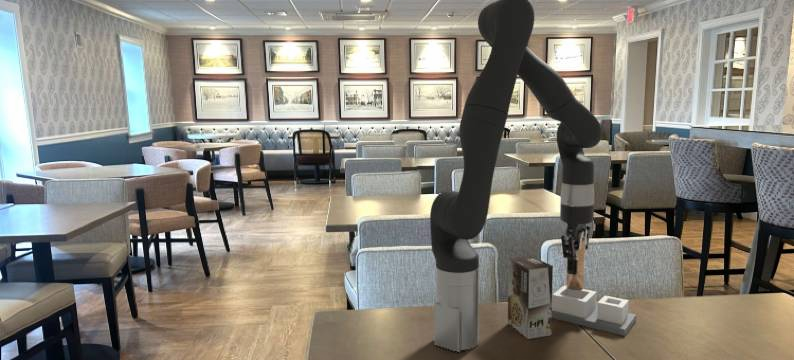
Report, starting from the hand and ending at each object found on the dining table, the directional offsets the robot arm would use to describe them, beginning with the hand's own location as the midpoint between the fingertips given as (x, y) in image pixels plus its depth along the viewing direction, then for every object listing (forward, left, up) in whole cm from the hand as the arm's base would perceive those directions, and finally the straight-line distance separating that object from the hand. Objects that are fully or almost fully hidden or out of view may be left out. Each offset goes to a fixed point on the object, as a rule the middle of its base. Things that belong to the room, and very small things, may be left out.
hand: (575, 270), depth 122 cm
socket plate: (0, -4, -11) cm, 12 cm away
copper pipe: (0, 0, -4) cm, 4 cm away
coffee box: (-14, +6, -11) cm, 19 cm away
